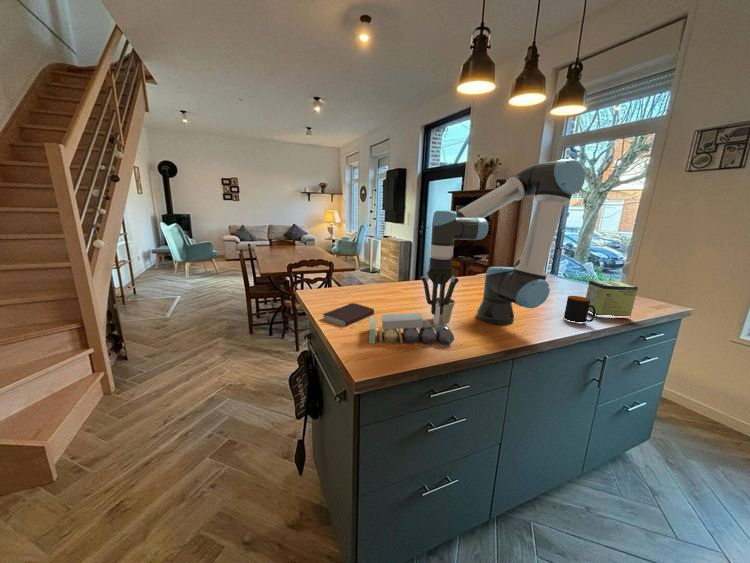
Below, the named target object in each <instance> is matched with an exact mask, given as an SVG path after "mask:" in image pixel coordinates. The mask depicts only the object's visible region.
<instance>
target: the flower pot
mask: <svg viewBox="0 0 750 563" xmlns="http://www.w3.org/2000/svg"><path fill="white" fill-rule="evenodd" d="M444 299H445V297H444ZM436 304H439V297H438V296H437V301H436ZM455 304H456V300H455V299H452V298H451V299H450V302H449V304H448V305H444V307H443V313H442V315H440V316H439V321H444V322H445V323H448V322H450V320H451V317H452V312H453V308H454V306H455Z"/></svg>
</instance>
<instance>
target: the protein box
mask: <svg viewBox="0 0 750 563" xmlns="http://www.w3.org/2000/svg"><path fill="white" fill-rule="evenodd" d="M638 287H639V286H635V285H632V284H629V283H626V282H622V281H610V280H609V281H608V280H607V281H606V280H605V281H604V280H589V281H588V286H587V290H586V295H585V298H588V299H590V304H589V305H592V306H594V308H595V310H596V312H595V314H596V315H612V316H613V315H614V316H630V317H631V316H632V312H633V308H634V305H635V301H636V300H635V299H636V295H637V292H638V289H639V288H638ZM588 311H590V312H592V313H593V308H592V307H589V309H588Z"/></svg>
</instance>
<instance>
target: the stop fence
mask: <svg viewBox="0 0 750 563" xmlns="http://www.w3.org/2000/svg"><path fill="white" fill-rule="evenodd" d="M369 317H370V318H369V338H368V343H369V344H376V329H377V328H376V327H377V323H376V321H377V319H376V317H375V316H369Z"/></svg>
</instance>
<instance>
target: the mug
mask: <svg viewBox="0 0 750 563" xmlns="http://www.w3.org/2000/svg"><path fill="white" fill-rule="evenodd" d="M566 300H567V301H566V304H565V311H564V313H563V314H564V316H563V319H564V318H565V319H567V320H570V321H575V322H586V323H587V322H588V323H590V322H591V323H592V322H593V321H594V320H595V318H596V317H595V312H596V310H595V308H594V306H592V305H589V304H590V299H588V298H586V297H585V296H584V297H583V296H579V295H568V296H567V298H566ZM589 307H592V308H593V315H591V318H590V319H588V318H587V317H588V314H589V313H588V309H589Z"/></svg>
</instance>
